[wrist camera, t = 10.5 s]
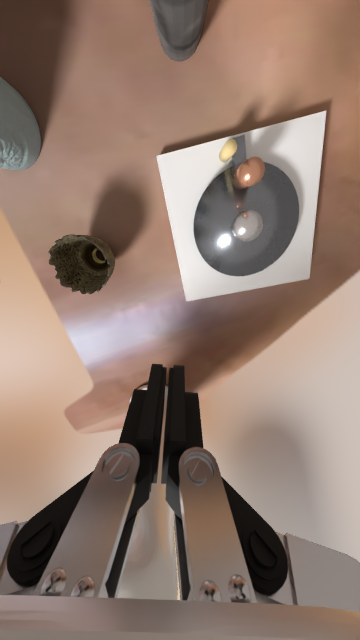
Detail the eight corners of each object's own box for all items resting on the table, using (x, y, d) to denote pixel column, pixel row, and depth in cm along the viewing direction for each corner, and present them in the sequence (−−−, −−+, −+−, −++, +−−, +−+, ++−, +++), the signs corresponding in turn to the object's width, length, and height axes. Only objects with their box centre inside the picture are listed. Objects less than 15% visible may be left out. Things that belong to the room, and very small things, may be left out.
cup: (71, 231, 31) (38, 237, 24) (119, 227, 30) (99, 232, 23) (85, 279, 34) (60, 296, 27) (128, 276, 34) (113, 293, 27)
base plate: (304, 276, 33) (322, 285, 29) (186, 298, 36) (186, 310, 31) (318, 116, 24) (348, 94, 20) (157, 158, 26) (152, 148, 22)
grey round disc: (293, 262, 31) (314, 272, 26) (202, 282, 32) (206, 295, 27) (297, 120, 23) (329, 95, 18) (179, 156, 25) (177, 142, 20)
